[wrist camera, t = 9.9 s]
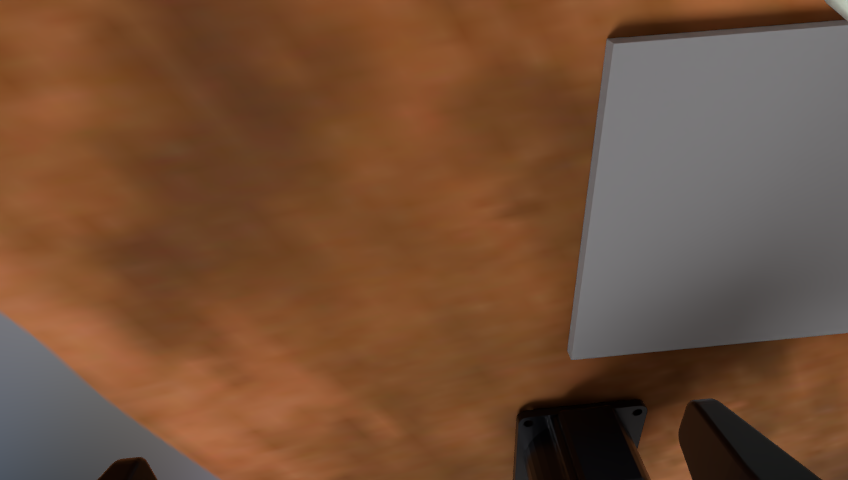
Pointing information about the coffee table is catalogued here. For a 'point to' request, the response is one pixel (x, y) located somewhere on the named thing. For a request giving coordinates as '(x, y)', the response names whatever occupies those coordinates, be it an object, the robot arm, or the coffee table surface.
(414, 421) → the coffee table surface
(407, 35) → the coffee table surface
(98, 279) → the coffee table surface
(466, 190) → the coffee table surface
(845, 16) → the lid
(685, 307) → the mat
